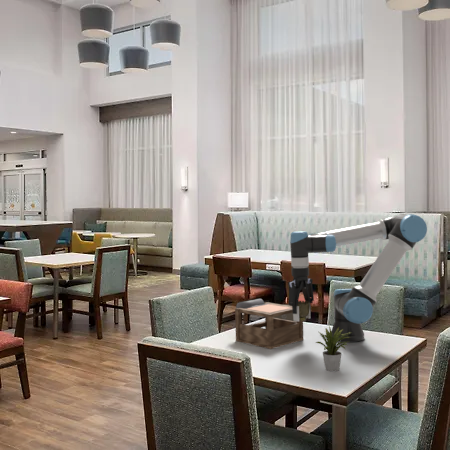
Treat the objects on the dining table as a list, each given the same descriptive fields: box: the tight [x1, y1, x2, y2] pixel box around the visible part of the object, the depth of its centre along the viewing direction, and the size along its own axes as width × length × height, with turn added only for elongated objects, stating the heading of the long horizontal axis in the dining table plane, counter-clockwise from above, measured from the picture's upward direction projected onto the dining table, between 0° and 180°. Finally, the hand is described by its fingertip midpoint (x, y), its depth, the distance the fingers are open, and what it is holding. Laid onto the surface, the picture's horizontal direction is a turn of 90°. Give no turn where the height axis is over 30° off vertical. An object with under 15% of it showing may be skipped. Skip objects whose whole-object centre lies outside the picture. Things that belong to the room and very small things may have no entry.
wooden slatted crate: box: [234, 301, 304, 350], centre depth 257 cm, size 22×22×15 cm
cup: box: [297, 300, 311, 322], centre depth 243 cm, size 8×7×8 cm
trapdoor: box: [235, 298, 290, 314], centre depth 260 cm, size 22×15×5 cm
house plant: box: [315, 326, 352, 372], centre depth 209 cm, size 14×14×16 cm
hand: (302, 319), depth 243 cm, fingers closed on cup, 7 cm apart
